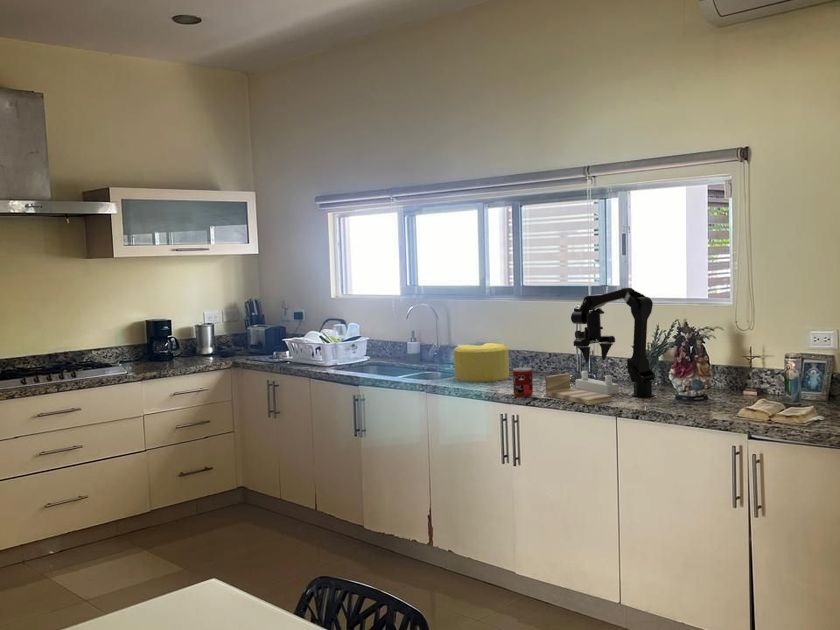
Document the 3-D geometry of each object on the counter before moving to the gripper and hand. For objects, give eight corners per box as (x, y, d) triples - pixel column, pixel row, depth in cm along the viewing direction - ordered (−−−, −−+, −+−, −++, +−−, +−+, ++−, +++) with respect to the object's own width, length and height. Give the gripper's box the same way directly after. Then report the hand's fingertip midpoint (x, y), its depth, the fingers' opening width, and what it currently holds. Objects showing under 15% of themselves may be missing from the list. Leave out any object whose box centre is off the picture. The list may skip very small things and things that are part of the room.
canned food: (510, 394, 332) (509, 368, 331) (526, 392, 335) (526, 366, 334) (519, 397, 325) (518, 370, 324) (536, 395, 328) (535, 368, 327)
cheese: (472, 371, 397) (471, 341, 396) (519, 374, 382) (518, 343, 380) (444, 379, 376) (443, 348, 374) (492, 383, 361) (490, 350, 359)
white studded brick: (618, 393, 325) (618, 375, 324) (607, 395, 322) (607, 377, 321) (586, 387, 342) (586, 370, 342) (575, 388, 339) (575, 371, 339)
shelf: (612, 400, 309) (611, 380, 309) (589, 405, 303) (588, 384, 302) (568, 392, 331) (567, 373, 330) (545, 395, 325) (545, 376, 324)
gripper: (596, 322, 345) (598, 357, 346) (564, 325, 335) (565, 362, 336) (615, 322, 335) (616, 359, 336) (581, 326, 326) (583, 364, 327)
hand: (595, 361), depth 334 cm, fingers open, 9 cm apart
